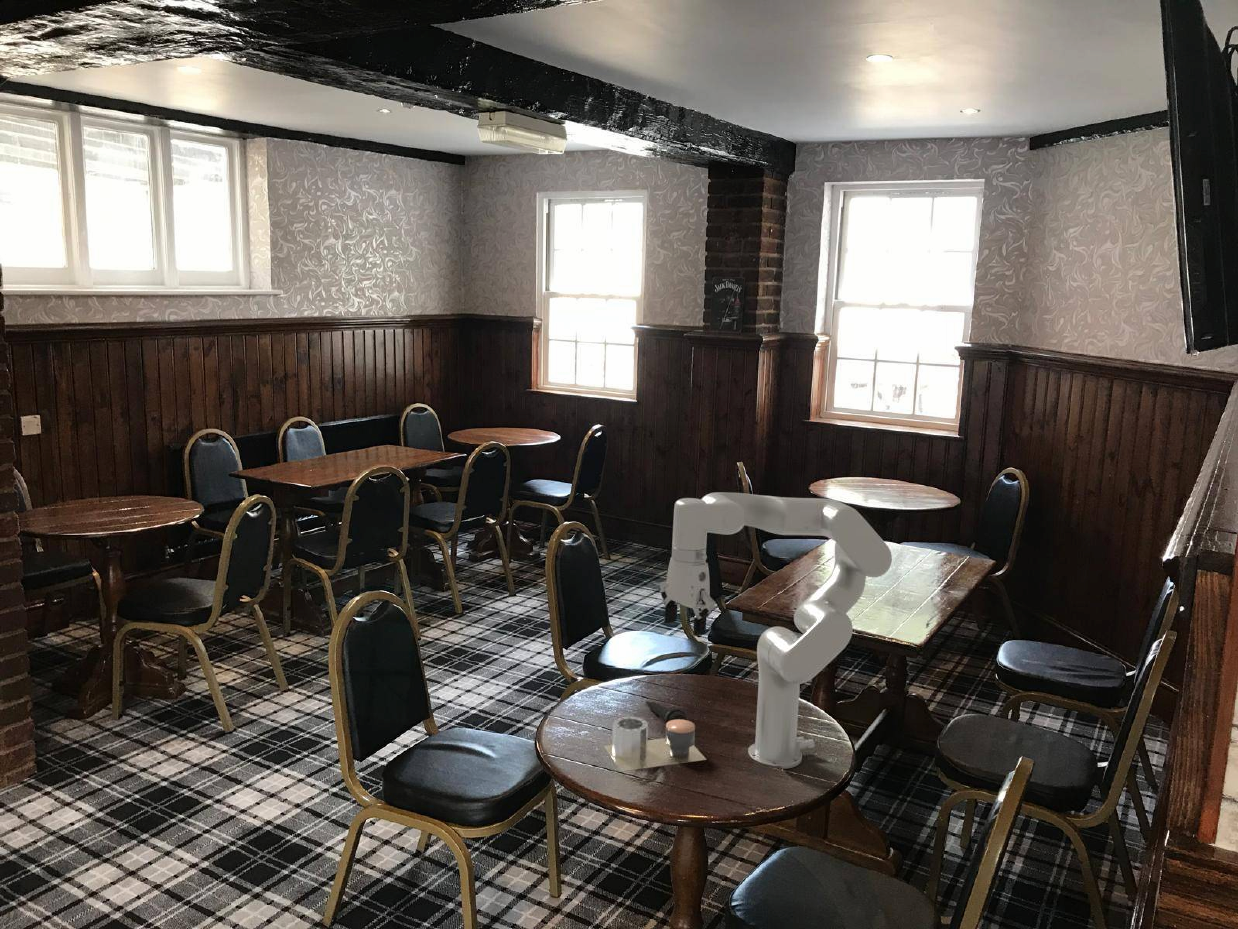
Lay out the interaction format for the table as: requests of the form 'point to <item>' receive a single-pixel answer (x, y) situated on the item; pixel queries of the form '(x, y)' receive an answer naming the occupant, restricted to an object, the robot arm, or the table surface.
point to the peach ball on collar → (680, 737)
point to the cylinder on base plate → (642, 747)
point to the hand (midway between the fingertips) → (684, 628)
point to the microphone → (666, 712)
